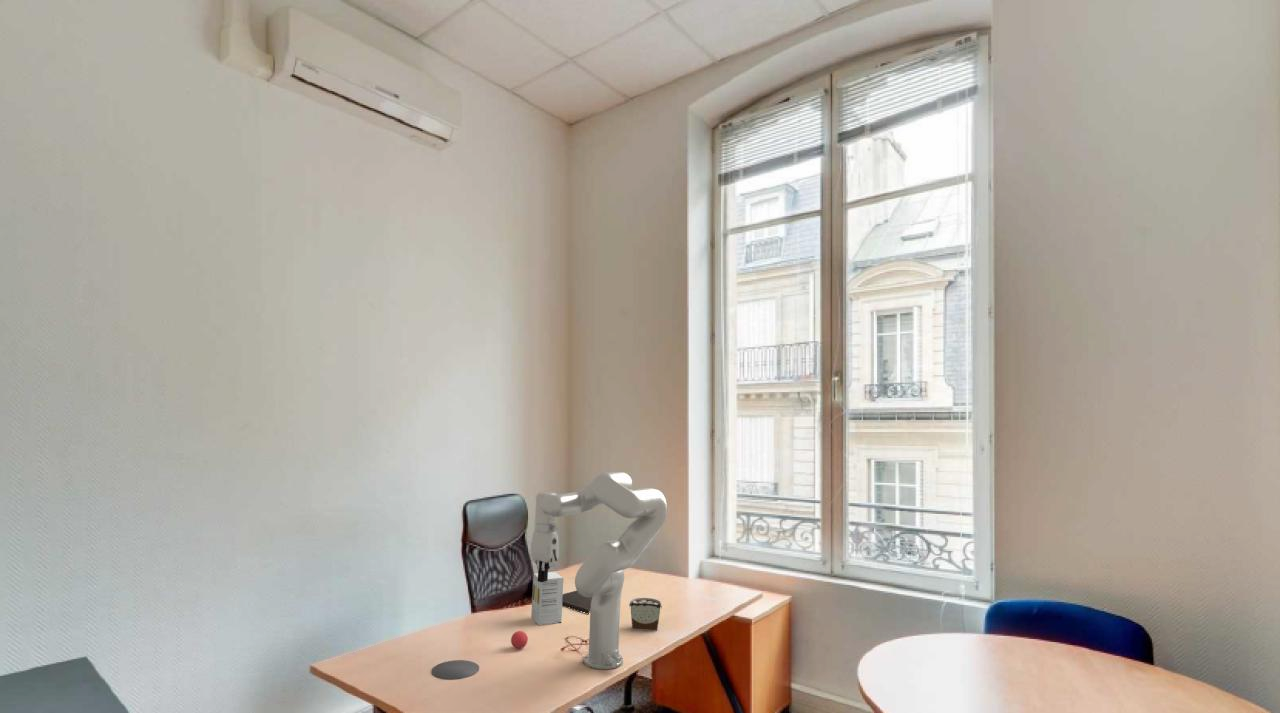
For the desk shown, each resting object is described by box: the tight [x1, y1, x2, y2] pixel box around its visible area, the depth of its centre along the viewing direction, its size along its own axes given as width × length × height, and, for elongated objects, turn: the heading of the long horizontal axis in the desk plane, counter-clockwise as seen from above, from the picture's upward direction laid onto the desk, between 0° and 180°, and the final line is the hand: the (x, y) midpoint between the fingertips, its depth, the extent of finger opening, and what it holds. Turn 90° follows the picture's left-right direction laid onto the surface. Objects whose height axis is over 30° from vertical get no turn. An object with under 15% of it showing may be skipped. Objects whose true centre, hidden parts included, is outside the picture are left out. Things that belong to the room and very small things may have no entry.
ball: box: [510, 630, 528, 650], centre depth 215 cm, size 6×6×6 cm
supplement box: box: [530, 571, 564, 626], centre depth 244 cm, size 10×9×17 cm
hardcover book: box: [562, 590, 592, 615], centre depth 266 cm, size 16×23×2 cm
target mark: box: [431, 659, 480, 680], centre depth 196 cm, size 14×14×1 cm
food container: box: [628, 597, 663, 632], centre depth 240 cm, size 12×6×10 cm, turn 84°
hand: (542, 581), depth 224 cm, fingers closed
